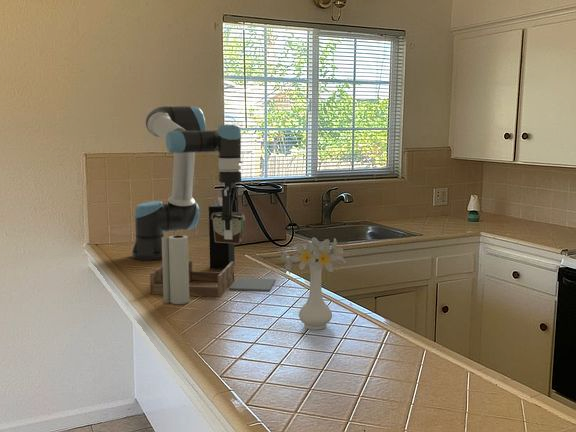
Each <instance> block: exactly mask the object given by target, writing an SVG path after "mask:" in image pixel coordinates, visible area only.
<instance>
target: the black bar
mask: <svg viewBox="0 0 576 432" xmlns="http://www.w3.org/2000/svg"><path fill="white" fill-rule="evenodd" d="M217 200H218V203H214V204H211V205H209V206H208V224H209V225H208V226H209V227H208V230H209V237H208V238H209V269H211V270H224V269H225V268H226V267H227V265H228V264H229V263H230V262H234V266H235V262H236V261H235V244H233V243H219V242H215V238H214V229H213V220H212V219H211V215H212V213H216V212H222V197H219V196H217Z"/></svg>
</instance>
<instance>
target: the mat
mask: <svg viewBox="0 0 576 432" xmlns="http://www.w3.org/2000/svg"><path fill="white" fill-rule="evenodd" d="M276 281H277V280H276V278H255V277H253V278H251V277H250V278H249V277H237V278H236V280H234V281H233V283H232V284H231V285H230V286H229V287H228V290H229V291H253V292H254V291H255V292H256V291H257V292H271V290H272V288H273V286H274V284H275V283H276Z"/></svg>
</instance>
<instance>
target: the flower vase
mask: <svg viewBox="0 0 576 432" xmlns="http://www.w3.org/2000/svg"><path fill="white" fill-rule="evenodd" d="M310 240H311V241H310ZM330 241H331V240H330V239H327V238H326V239H324V240H323V241H321V243H320V240H318V239H317V238H316V237H314V236H313V237H311V239H308V241H307V243H306V245H305V247H304V246H303V244H302V243H297V244H296V251H297V252H298V254H293V255H292V256H290V255H289V253H287V252H286V251H285V250H284V249H283V248H282V247H280V251H281V252H282V253H280V255H279V256H280V258H281V260H282V261H284V262H285V264H284V269H285V272H286V273H287V272H288V274H289V275H291V270H292V265H293V262H294V264H296V263H298V262H299V265H298V268H299V270H301V271H302V270H304V269H305V268H306V266H307V264H308V266H309V271H310V272H309V273H310V282H309V283H310V284H309V295H308V298H307V301H306V302H305V304H304V305H303V306H302V307H301V308H300V310H299V313H298V319H299V320H300V321H301V323H302V324H304V325H303V326H304V327H305V328H306V329H307V330H311V331H321V330H325V329H326V328H327V324H328V323H330V322H331V320H332V318H333V313H332V309H330V307H329V306H328V305H327V303H325V300H324V298H323V294H322V293H323V292H322V291H323V290H322V272H323V271H322V269H323V267H324V268H325V269H326V271H328V272H329V273H333V272H334V265H333V264H332V263H333V262H335V261H338V260H339V261H341V262H343V263H344V264H346V263H347V262H346V260H345V258H344V257H343V256H342V255H343V254H344V248H342V247H340V246H339V247H338V241H337V239H336V237H334V238H333V242H331V246H330V245H329V244H330ZM310 242H311V243H310Z"/></svg>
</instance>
